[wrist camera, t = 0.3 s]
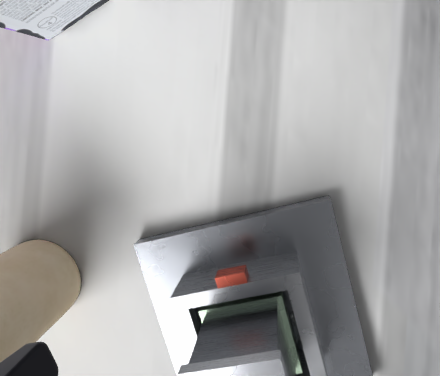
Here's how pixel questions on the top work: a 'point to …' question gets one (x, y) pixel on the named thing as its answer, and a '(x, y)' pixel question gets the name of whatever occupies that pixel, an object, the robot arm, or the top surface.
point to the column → (245, 339)
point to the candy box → (44, 15)
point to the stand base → (261, 281)
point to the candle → (34, 292)
